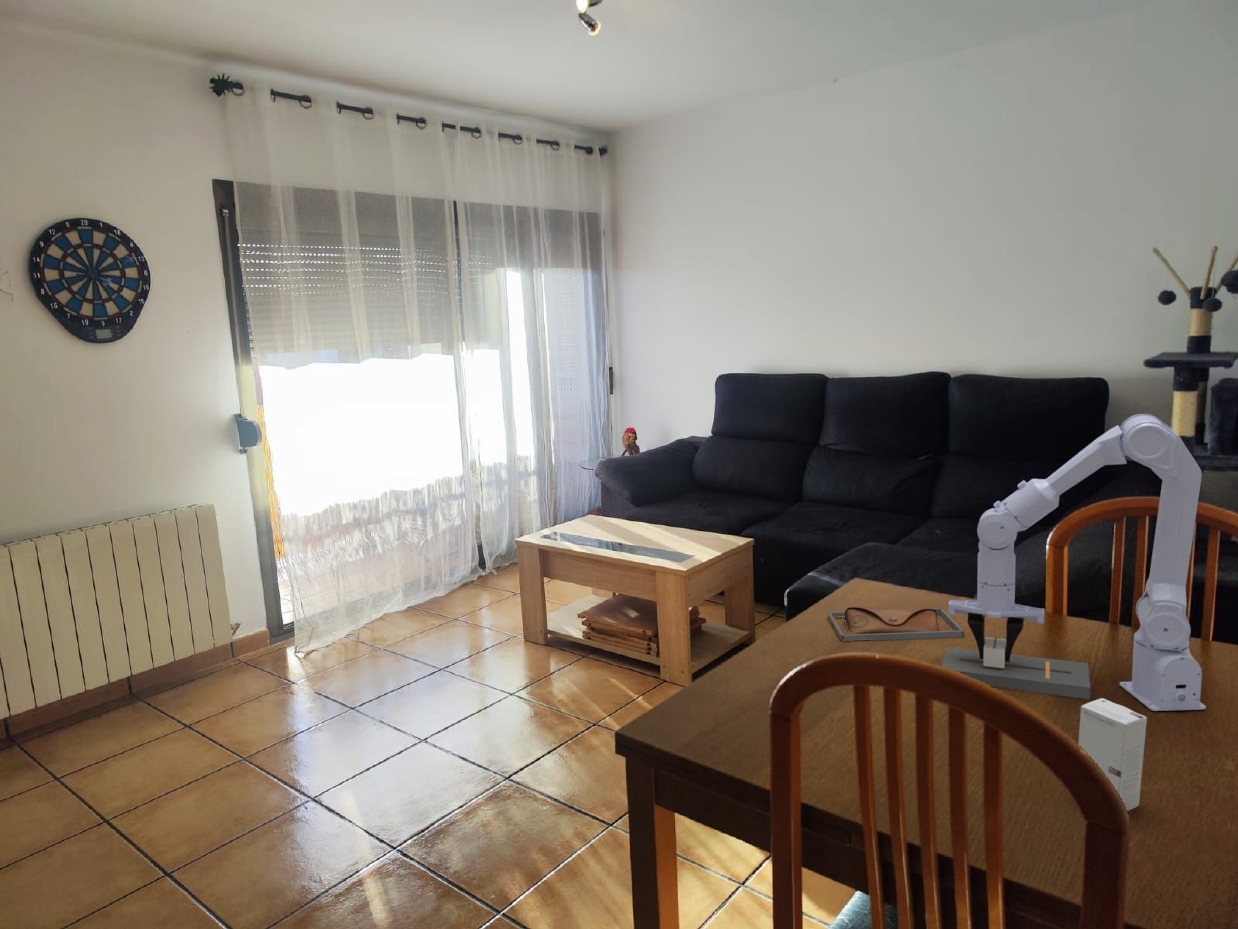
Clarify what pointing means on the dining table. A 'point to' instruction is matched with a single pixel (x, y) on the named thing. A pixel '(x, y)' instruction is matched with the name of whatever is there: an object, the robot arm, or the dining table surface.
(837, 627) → the case rim
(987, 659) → the fader
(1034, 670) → the fader panel
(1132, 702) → the dining table surface
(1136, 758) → the skincare box
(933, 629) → the sunglasses case
